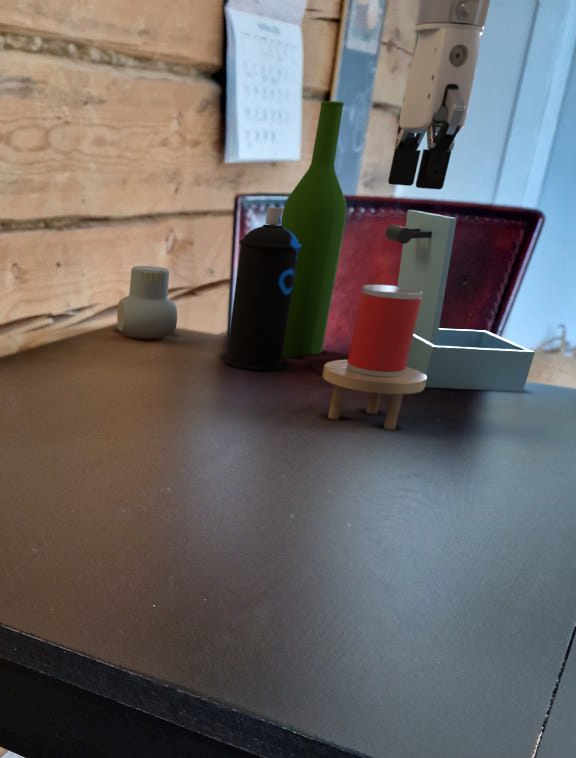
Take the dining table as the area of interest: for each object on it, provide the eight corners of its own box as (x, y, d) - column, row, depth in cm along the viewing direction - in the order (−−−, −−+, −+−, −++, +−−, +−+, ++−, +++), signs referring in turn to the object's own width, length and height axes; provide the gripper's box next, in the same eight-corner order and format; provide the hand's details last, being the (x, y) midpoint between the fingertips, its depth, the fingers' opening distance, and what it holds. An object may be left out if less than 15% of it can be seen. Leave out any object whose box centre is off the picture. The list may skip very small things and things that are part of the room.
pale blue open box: (475, 371, 126) (486, 330, 123) (521, 397, 113) (535, 351, 110) (385, 367, 125) (394, 325, 122) (421, 392, 113) (432, 346, 110)
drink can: (393, 365, 97) (410, 286, 93) (412, 378, 91) (432, 295, 87) (339, 363, 96) (354, 283, 92) (355, 375, 91) (372, 291, 87)
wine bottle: (330, 353, 132) (376, 105, 116) (306, 362, 125) (352, 100, 109) (278, 344, 136) (315, 103, 120) (252, 351, 130) (288, 98, 113)
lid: (413, 209, 115) (375, 211, 115) (457, 217, 102) (414, 219, 102) (397, 322, 122) (362, 323, 122) (436, 342, 109) (397, 344, 109)
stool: (394, 413, 102) (406, 362, 99) (428, 441, 93) (443, 385, 90) (303, 409, 101) (313, 357, 98) (329, 436, 92) (340, 380, 89)
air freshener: (114, 328, 140) (118, 262, 135) (164, 330, 141) (170, 265, 136) (124, 342, 130) (129, 271, 125) (177, 344, 131) (184, 274, 126)
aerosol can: (222, 368, 119) (243, 207, 109) (225, 356, 126) (244, 204, 116) (282, 373, 118) (308, 211, 108) (281, 361, 125) (305, 208, 115)
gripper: (517, 11, 91) (472, 192, 99) (452, 29, 106) (417, 185, 114) (449, 5, 90) (409, 187, 99) (393, 24, 105) (363, 181, 114)
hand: (413, 186), depth 107 cm, fingers open, 9 cm apart
